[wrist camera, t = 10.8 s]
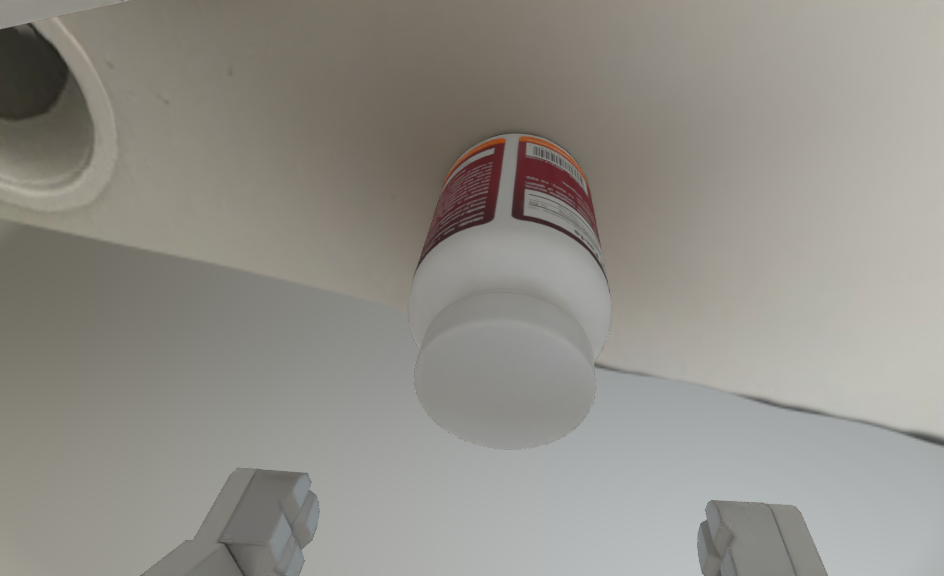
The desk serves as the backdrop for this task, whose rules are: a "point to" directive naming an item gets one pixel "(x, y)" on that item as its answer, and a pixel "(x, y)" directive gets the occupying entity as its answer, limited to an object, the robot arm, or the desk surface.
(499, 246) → the pill bottle
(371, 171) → the desk surface
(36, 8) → the mug
